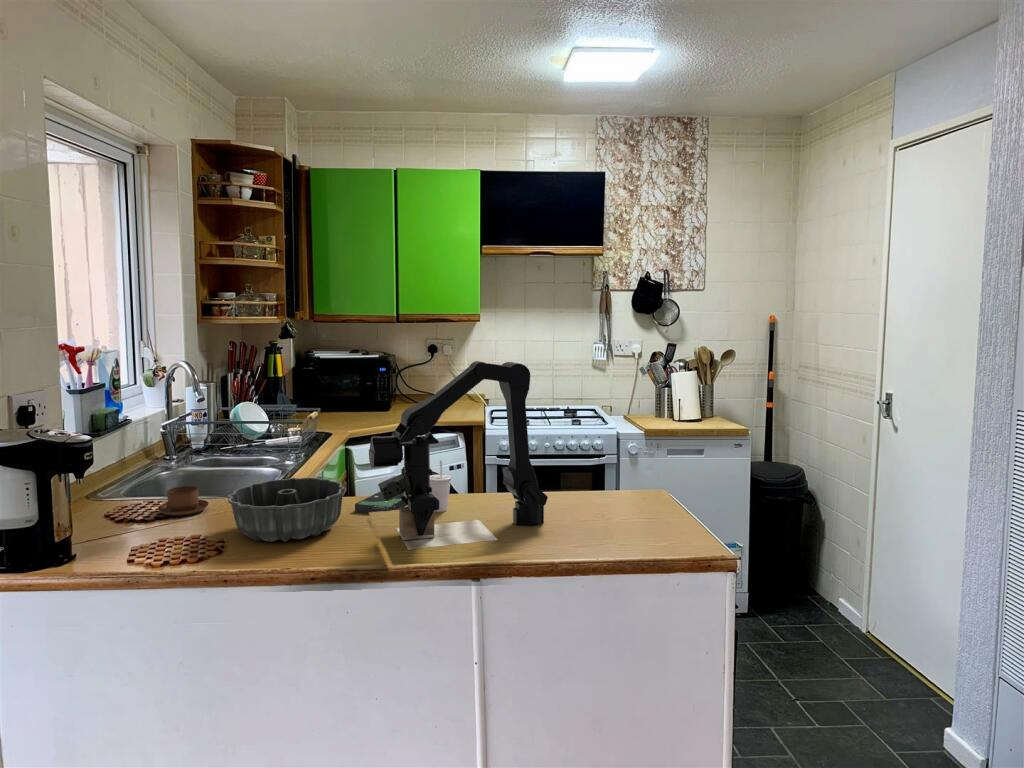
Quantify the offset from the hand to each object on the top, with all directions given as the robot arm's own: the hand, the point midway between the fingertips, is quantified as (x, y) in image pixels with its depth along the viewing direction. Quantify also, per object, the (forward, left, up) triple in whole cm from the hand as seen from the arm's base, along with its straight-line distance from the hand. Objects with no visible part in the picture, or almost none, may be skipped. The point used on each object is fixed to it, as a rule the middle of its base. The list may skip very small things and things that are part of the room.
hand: (418, 531), depth 167 cm
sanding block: (0, 0, -1) cm, 1 cm away
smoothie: (-9, -20, -3) cm, 22 cm away
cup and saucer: (+53, -44, -3) cm, 69 cm away
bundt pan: (+28, -18, -3) cm, 33 cm away
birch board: (-6, 0, -2) cm, 7 cm away
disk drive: (+3, -32, -3) cm, 32 cm away
